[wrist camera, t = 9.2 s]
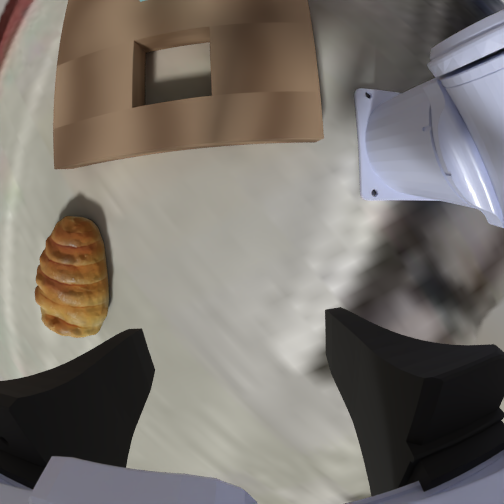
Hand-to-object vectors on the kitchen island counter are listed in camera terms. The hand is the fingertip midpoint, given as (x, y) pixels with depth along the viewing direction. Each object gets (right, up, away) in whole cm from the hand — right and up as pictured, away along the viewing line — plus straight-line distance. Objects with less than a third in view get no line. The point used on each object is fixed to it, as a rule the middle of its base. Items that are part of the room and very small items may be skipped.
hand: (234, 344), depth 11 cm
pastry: (-14, +1, +11) cm, 18 cm away
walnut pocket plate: (-5, +20, +6) cm, 21 cm away
